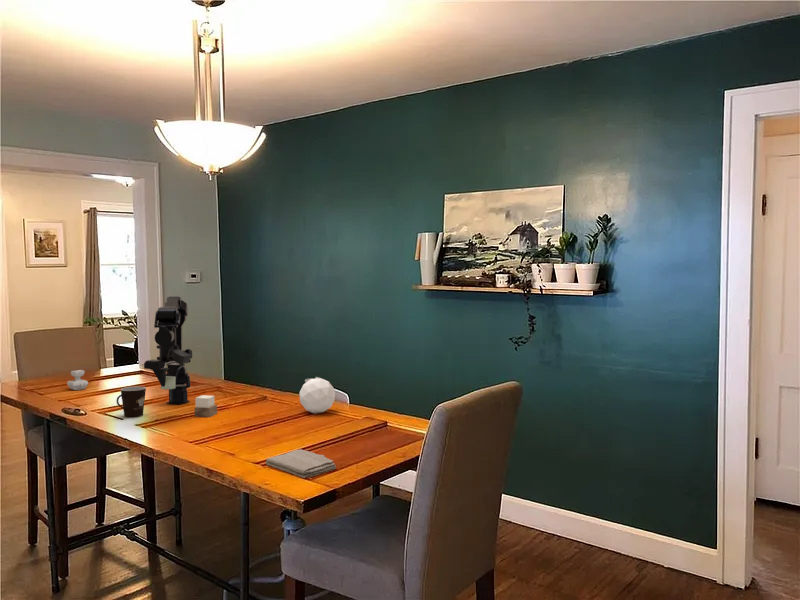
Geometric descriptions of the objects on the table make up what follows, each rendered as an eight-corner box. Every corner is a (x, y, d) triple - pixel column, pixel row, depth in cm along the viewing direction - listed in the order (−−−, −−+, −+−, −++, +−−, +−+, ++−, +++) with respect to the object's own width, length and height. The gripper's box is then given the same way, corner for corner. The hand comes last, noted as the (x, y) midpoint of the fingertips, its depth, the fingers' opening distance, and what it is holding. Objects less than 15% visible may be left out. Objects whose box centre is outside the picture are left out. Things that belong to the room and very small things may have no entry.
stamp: (65, 389, 282) (65, 370, 282) (80, 387, 288) (80, 368, 287) (74, 391, 277) (74, 372, 276) (90, 389, 282) (89, 370, 281)
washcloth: (305, 480, 166) (305, 469, 166) (263, 466, 177) (263, 455, 177) (339, 470, 175) (339, 459, 175) (296, 457, 186) (296, 446, 186)
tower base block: (194, 417, 233) (194, 407, 233) (201, 413, 239) (201, 404, 239) (210, 417, 233) (210, 408, 232) (217, 414, 238) (216, 404, 238)
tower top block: (195, 407, 234) (195, 397, 234) (202, 404, 239) (201, 395, 238) (208, 407, 233) (208, 398, 233) (214, 405, 238) (214, 395, 238)
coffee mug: (140, 411, 240) (140, 385, 240) (150, 415, 234) (149, 388, 234) (108, 416, 232) (108, 389, 232) (117, 420, 226) (117, 393, 225)
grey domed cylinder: (157, 388, 229) (157, 377, 229) (167, 386, 234) (166, 375, 234) (169, 389, 227) (169, 378, 227) (178, 387, 232) (178, 376, 232)
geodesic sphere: (289, 401, 233) (312, 372, 233) (289, 394, 246) (311, 366, 247) (320, 424, 235) (343, 394, 236) (319, 415, 249) (340, 387, 249)
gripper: (169, 346, 218) (169, 391, 219) (202, 340, 236) (202, 382, 237) (142, 345, 222) (143, 389, 223) (177, 339, 239) (177, 380, 240)
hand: (168, 385), depth 231 cm, fingers closed on grey domed cylinder, 5 cm apart
